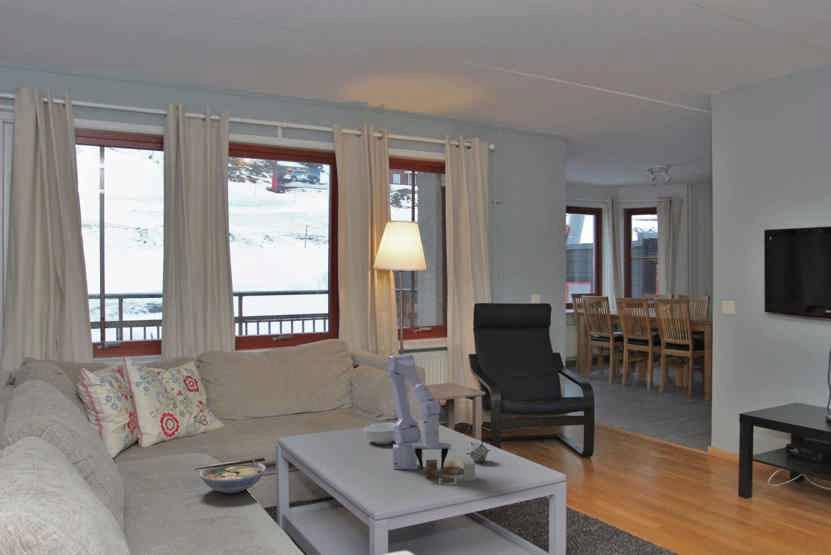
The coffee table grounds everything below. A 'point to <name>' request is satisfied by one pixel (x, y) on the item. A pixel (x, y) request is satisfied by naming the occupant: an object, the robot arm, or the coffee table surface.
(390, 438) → the cereal bowl
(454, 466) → the oak base block
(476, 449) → the game die
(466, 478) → the sage green block
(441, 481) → the swatch
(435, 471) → the walnut block
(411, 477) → the coffee table surface
